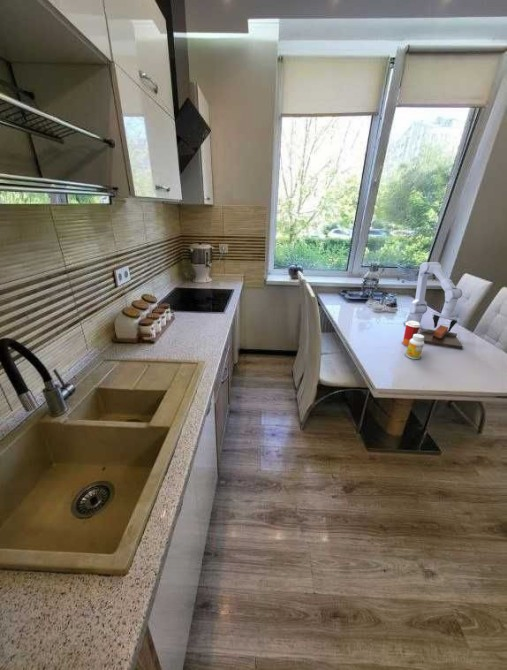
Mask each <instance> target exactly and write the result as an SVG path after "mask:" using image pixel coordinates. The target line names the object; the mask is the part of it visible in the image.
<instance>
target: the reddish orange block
mask: <svg viewBox="0 0 507 670" xmlns="http://www.w3.org/2000/svg"><path fill="white" fill-rule="evenodd" d="M448 329H449V327H448V326H445V325H439V326H438V327H436V328H435V329H434V330H435V331H434V334H433V338H436V339H439V340H441V339H442V338H443V337H444V336H445V335H446V334H447V333H448Z"/></svg>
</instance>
